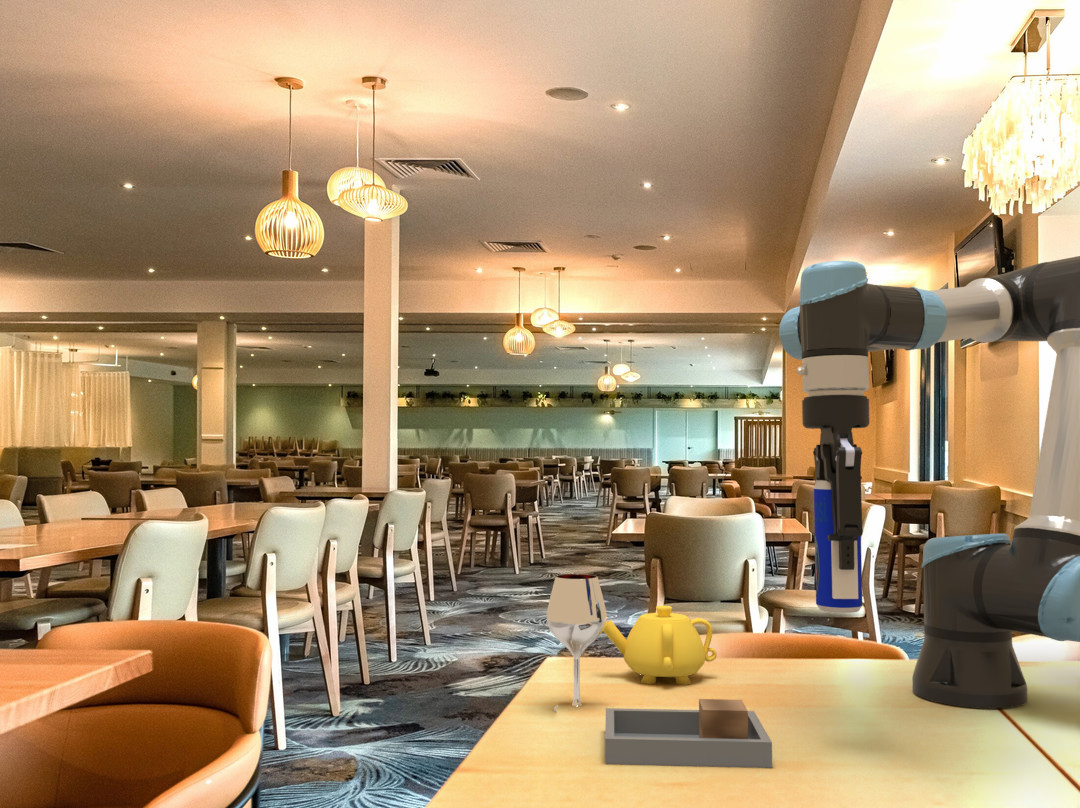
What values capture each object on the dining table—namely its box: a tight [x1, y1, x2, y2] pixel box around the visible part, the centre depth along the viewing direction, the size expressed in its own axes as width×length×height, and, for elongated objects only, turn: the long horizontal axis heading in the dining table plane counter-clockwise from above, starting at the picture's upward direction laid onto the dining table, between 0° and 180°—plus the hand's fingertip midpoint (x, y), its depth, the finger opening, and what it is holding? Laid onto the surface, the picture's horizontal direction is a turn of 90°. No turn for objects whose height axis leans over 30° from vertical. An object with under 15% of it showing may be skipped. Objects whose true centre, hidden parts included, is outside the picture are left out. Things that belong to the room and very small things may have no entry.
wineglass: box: [546, 573, 608, 713], centre depth 133 cm, size 8×8×18 cm
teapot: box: [602, 605, 717, 685], centre depth 152 cm, size 14×14×11 cm
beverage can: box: [813, 480, 863, 614], centre depth 113 cm, size 5×5×15 cm
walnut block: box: [698, 698, 749, 739], centre depth 112 cm, size 5×5×5 cm
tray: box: [604, 707, 773, 769], centre depth 112 cm, size 18×13×4 cm
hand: (839, 594), depth 113 cm, fingers closed on beverage can, 5 cm apart
